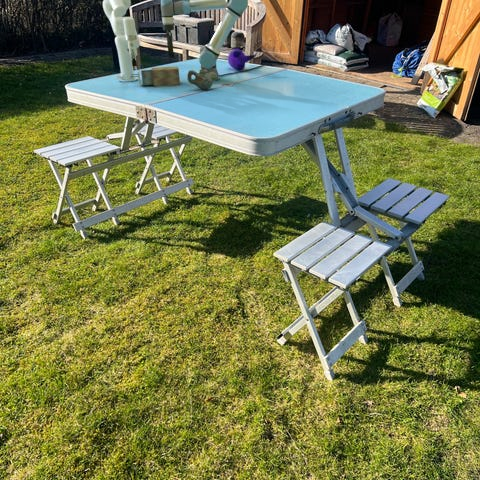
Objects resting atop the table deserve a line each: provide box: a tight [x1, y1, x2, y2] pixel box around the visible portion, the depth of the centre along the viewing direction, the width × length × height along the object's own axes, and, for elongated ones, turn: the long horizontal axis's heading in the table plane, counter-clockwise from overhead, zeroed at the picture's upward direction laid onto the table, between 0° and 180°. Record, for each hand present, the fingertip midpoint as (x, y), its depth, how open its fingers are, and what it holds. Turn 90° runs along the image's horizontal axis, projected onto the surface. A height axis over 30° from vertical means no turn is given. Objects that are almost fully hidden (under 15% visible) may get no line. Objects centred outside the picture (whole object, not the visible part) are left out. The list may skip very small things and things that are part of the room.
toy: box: [227, 48, 258, 72], centre depth 368 cm, size 16×18×27 cm
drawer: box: [130, 69, 154, 87], centre depth 323 cm, size 23×10×9 cm, turn 102°
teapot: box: [187, 66, 218, 91], centre depth 306 cm, size 21×12×15 cm, turn 109°
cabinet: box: [151, 66, 181, 88], centre depth 325 cm, size 19×11×11 cm, turn 102°
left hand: (134, 66), depth 317 cm, fingers closed
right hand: (171, 56), depth 319 cm, fingers open, 13 cm apart
